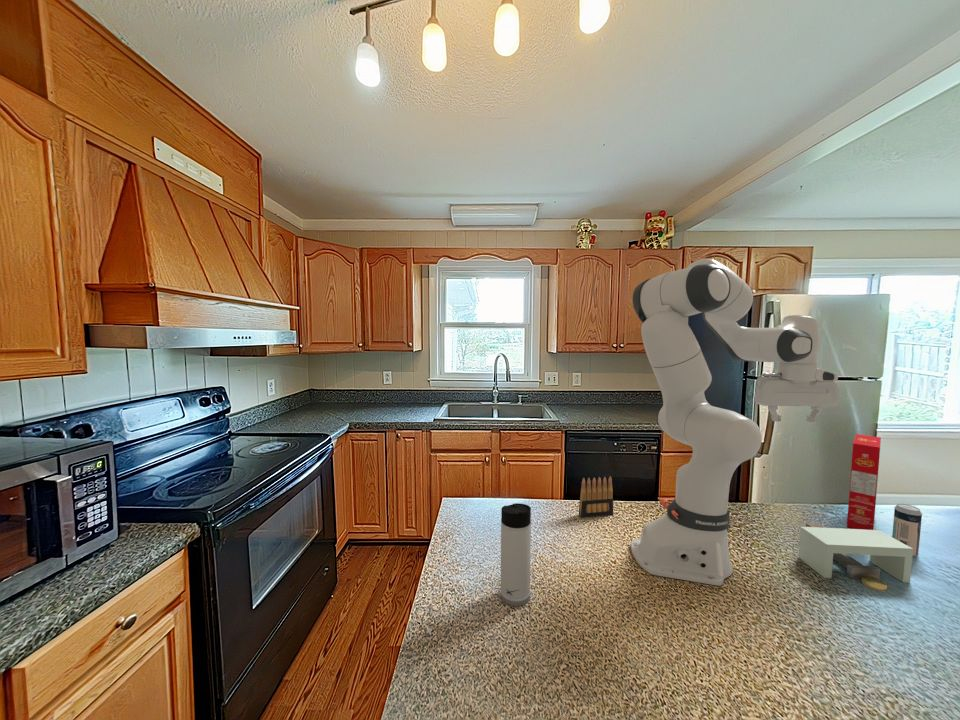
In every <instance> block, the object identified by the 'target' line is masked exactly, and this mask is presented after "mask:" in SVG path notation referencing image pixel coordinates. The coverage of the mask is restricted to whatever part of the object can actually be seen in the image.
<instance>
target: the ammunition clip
mask: <svg viewBox="0 0 960 720" xmlns="http://www.w3.org/2000/svg"><path fill="white" fill-rule="evenodd" d="M612 481H613V479H612V476H610V475H609V477H608V481H607V478H606V476H604V477H603V479H602V478H601V477H600V476H598V478H597V480H596V478H595V476H594V477H593V478H592V480H591V479H590V477H587V481H586V480H585V477H583V478H582V481H581V486H580V487H581V488H580V494H579V495H580V497H579V505H578V515H579V516H580V517H581V518H590V517H602V516H603V517H604V516H613V515H614V498H613V491H614V490H613V482H612Z"/></svg>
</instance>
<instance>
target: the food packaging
mask: <svg viewBox="0 0 960 720" xmlns="http://www.w3.org/2000/svg"><path fill="white" fill-rule="evenodd" d="M881 441H882V437H879V436H873V435H867V434H860V433H856V434H855V437H854V440H853V443H852V451H851V452H852V455H851V467H850V480H849V481H850V482H849V491H848V492H849V493H848V494H849V495H848V506H847V507H848V508H847V517H846V518H847V520H846V529H863V530H874V527H875V526H874V525H875V517H876V516H875V515H876V503H877V502H876V501H877V491H878V479H879V466H880V457H881V456H880V454H881Z"/></svg>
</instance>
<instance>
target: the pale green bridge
mask: <svg viewBox="0 0 960 720" xmlns="http://www.w3.org/2000/svg"><path fill="white" fill-rule="evenodd" d="M799 529H800V530H799V545H798V558H799V559H800V560H801V561H802V562H804V563H805V564H806V565H808V566H809V567H810V568H812V569H813V571H815V572H817V573H818V574H819V575H820V576H821V577H823V578H824V579H825V578H826V579H832V576H833V575H832V574H833V564H834V559H833V553H839V554H847V555H862V556H863V555H864V556H869V562H871V563H872V564H874V565H875V566H876V567H877V568H878V567H879V569H880V570H881V569H882V570H883V571H885V572H886V573H888V574H889V575H891V576H893V577H894V578H895V579H897V580H898V581H901V582H902V583H908V584H909V583H911V575H912V565H913V557H914V556H913V548H911V547H909V546H907V545H905V544H904V543H902V542H900V541H898V540H896V539H894V538H892V536H890V535H888V534H887V533H885V532H882V531H881V530H879V529H873V530H863V529H849V528H842V527H841V528H837V527H824V528H820V527H806V526H800V527H799Z"/></svg>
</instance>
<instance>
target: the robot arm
mask: <svg viewBox="0 0 960 720" xmlns="http://www.w3.org/2000/svg"><path fill="white" fill-rule="evenodd" d="M753 302H754V293H753V291H752V289H751V287H750V286H749V284H748V283H746V281H744V280H743V279H742V278H741V277H740V276H739V275H738V274H737V273H736V272H734V271H733V270H731V269H730V267H727V266H726V265H724V264H722V263H721V262H719V261H717V260H715V259H713V258H709V257H708V258H700V259H698V260H695V261H693V262H691V263H690V264H689V265H688V266H687V267H686V268H682V269H677V270H671V271H667V272H665V273H662V274H660V275H656V276H655V277H651V278H648V279H645V280H644V281H642V282H640V283H639V284H637V286H636V287H634V290H633V294H632V306H633V309H634V312H635V314H636V315H637V317H638V318H639V320H640V321H641V322H642V325H641V327H640V332H641V333H640V334H641V338H642V344H643V347H644V350H645V354H646V356H647V359H648V361H649V364H650V367H651V369H652V371H653V374H654V376H655V378H656V381H657V384H658V387H659V389H660V392H661V395H662V403H663V405H662V407H661V408H660V410H659V412H658V414H657V415H658V417H657V422H658V426H659V428H660V429H661V431H663V432H664V433H665V434H666V435H668V436H669V437H670V438H671V439H673V440H674V441H677V442H678V443H682V444H683V445H686V446H688V447H691V448H692V455H691V458H690V460H689V461H688V463H685V464H683V465H681V466H680V467H678V469H677V471H676V476H675V478H676V480H675V498H674V499H673V500H672V502H671V503H670V501H669V500H668V499H667V498H665V497H664V498H661V499H660V501H659V504H660V506H662V507H663V509H664V510H665V509H667V510H666V513H664V514H663V515H662V516H660V517H658V518H656V519H654V520H652V521H651V522H649V523H646V524H645V525H644V526H643V529H642V532H641V534H640V538H634V539H633V540H631V544H630V551H631V554H632V556H633V558H634V559H635V562H636V563H637V564H638V565H639V566H640V567H641V568H642V569H643V570H644V571H646V572H647V573H649V574H650V575H653V576H658V577H665V578H670V579H677V580H683V581H687V582H694V583H699V584H705V585H706V584H707V585H713V586H717V587H719V586H723V585H724V582H725V581H724V580H725V579H726V578H729V577H730V576H731V575H732V574H733V571H734V568H733V564H732V562H731V558H730V557H731V556H730V551H729V542H728V532H729V530H730V510H729V508H728V505H729V494H730V485H731V481H732V477H733V474H734V473H735V471H736V469H737V468H738V467H739V466H740V465H741V464H742V463H744V462H746V461H749V460H751V459H752V458H753V457H754V456H755V455H757V453H758V452H759V450H760V449H761V446H762V441H763V437H762V436H763V435H762V431H761V429H760V427H759V426H758V423H756V422H755V421H754V420H752V419H750V418H748V417H746V415H745V416H744V415H743V414H741V413H738V412H736V411H734V410H731V409H727V408H721V407H717V406H713V405H711V404H710V403H709V402H708V401H707V399H706V395H705V391H707V389H708V388H709V387H710V385H711V383H712V380H713V377H712V373H711V370H710V369H709V366H708V364H707V361H706V359H705V356H704V353H703V352H702V349H701V346H700V344H699V341H698V340H697V338H696V335H695V334H694V332H693V330H692V329H691V327H690V325H689V317H691V316H694V315H698V314H702V315H701V316H702V319H703V321H704V322H705V323H706V325H707V326H708V327H709V329H711V331H712V332H713V333H714V334H715V335H716V336H717V338H718V339H719V340H720V341H721V342H722V344H723V345H724V346H725V349H726V350H727V353H728V354H729V356H730V357H731V358H732V359H733V360H735V361H738V362H763V363H777V367H776V368H777V369H776V372H772V373H770V372H769V373H768V372H764V373H762V374H760V375H759V376H758V377H757V378H756V387H755V391H754V392H755V393H754V402H755V404H757V405H760V406H765V407H767V410H768V411H769V413H770V415H771V421H773V422H781V421H782V415H781V414H779V413H778V412H777V410H779V409H778V408H779V407H810V409H811V412H810V413H809V414H806V422H809V423H817V420H818V417H819V415H820V414H821V413H822V411H823V407H824V408H832V407H833V408H834V407H836V405H838V403H839V395H840V393H839V385H838V383H837V382H836V381H838V379H839V375H838V373H836V372H832V371H828V370H826V369H822V368H819V361H818V352H819V350H820V345H821V343H820V342H821V339H820V338H821V337H820V336H821V333H820V325H819V321H818V319H817V318H816V317H814V316H809V315H800V314H797V315H796V314H795V315H787V316H784V317H783V319H782V322H781V323H780V324H779V325H776V326H775V327H745V326H741V325H739V324H738V321H739V320H741V319H742V318H744V317H745V316H746V315H747V313H748V312H749V311H750V309H751V308H752V305H753Z"/></svg>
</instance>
